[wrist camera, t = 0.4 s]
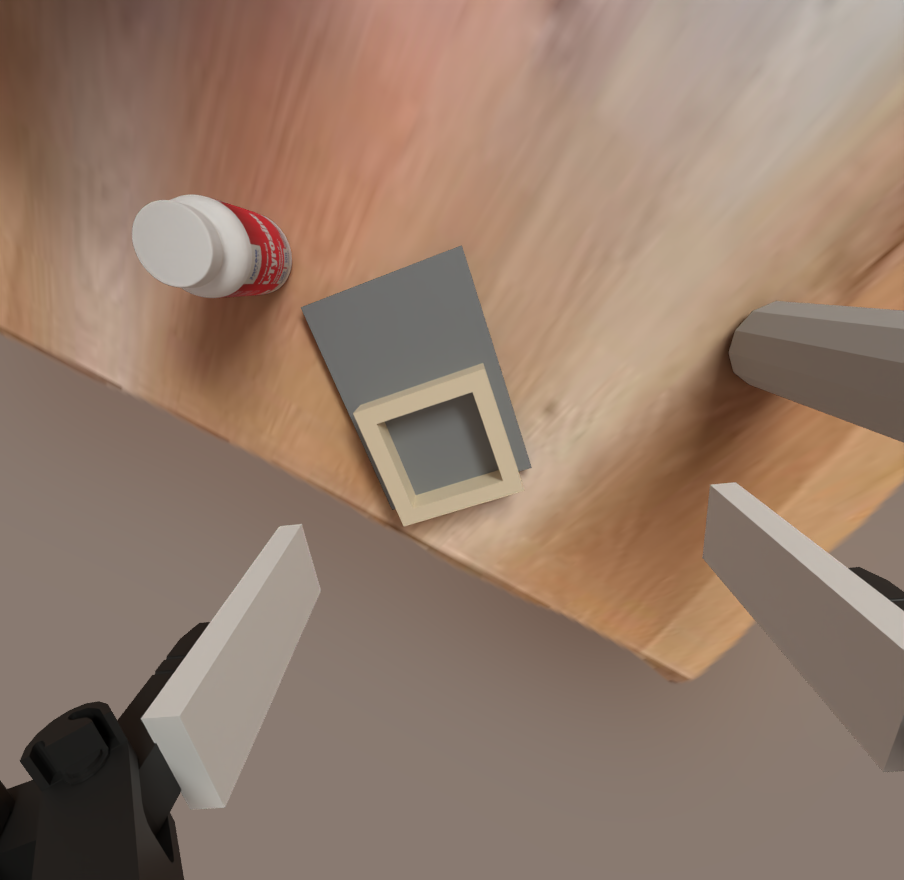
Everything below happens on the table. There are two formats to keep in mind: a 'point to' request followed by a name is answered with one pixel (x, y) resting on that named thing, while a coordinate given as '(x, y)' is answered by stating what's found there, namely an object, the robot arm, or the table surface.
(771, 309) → the water bottle
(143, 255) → the pill bottle
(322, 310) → the socket board
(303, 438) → the table surface
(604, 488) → the table surface
